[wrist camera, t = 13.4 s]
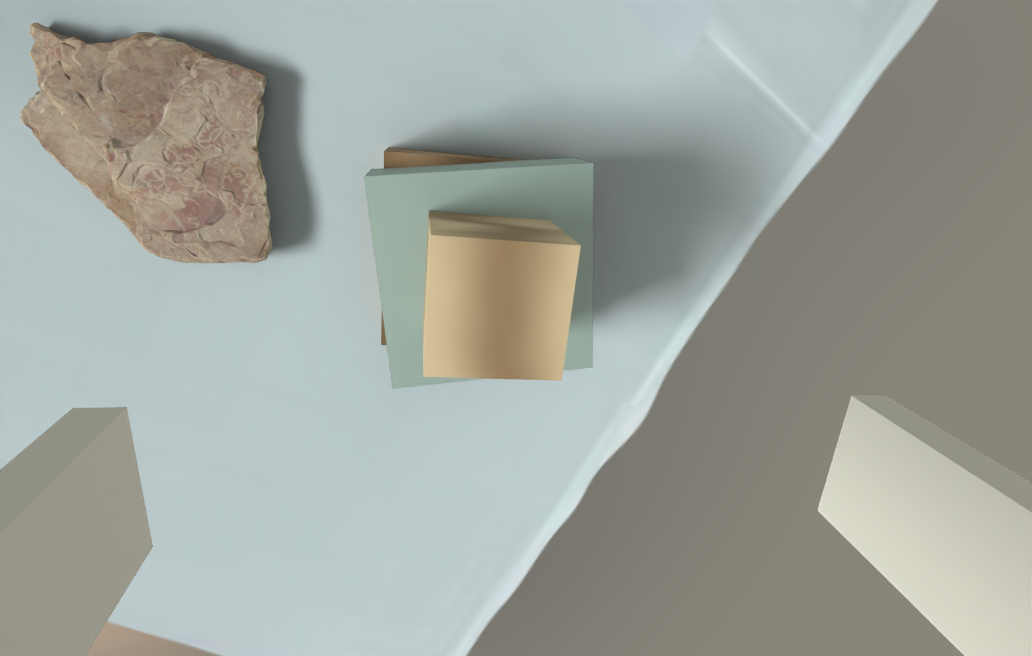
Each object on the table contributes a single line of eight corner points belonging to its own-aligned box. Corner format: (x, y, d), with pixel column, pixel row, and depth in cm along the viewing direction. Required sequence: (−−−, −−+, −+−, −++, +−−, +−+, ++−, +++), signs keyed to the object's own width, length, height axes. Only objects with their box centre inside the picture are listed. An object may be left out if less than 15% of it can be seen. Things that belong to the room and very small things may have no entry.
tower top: (395, 359, 34) (392, 388, 30) (371, 169, 30) (364, 176, 26) (574, 341, 35) (592, 367, 32) (573, 157, 32) (593, 163, 28)
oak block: (422, 327, 29) (423, 376, 24) (428, 210, 27) (430, 234, 22) (535, 332, 30) (561, 380, 25) (549, 220, 28) (580, 245, 23)
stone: (69, 250, 33) (39, 260, 30) (30, 21, 29) (-8, 11, 26) (282, 261, 35) (270, 271, 32) (272, 47, 31) (258, 40, 28)
